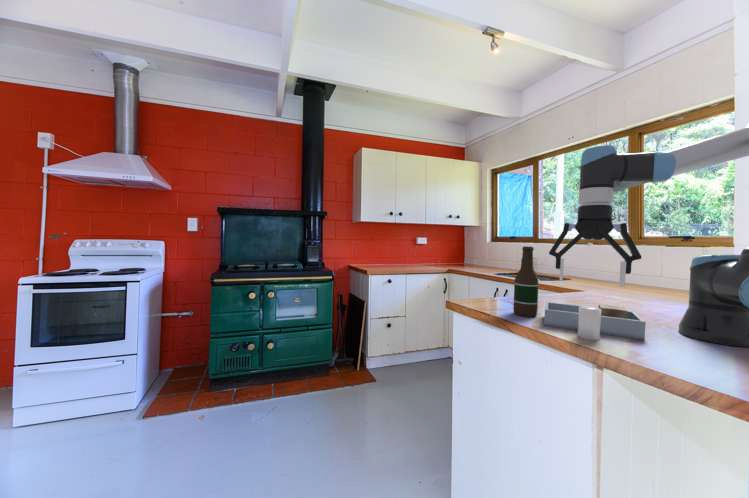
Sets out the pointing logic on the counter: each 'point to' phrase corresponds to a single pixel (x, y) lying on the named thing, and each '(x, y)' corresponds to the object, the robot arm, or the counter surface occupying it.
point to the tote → (612, 326)
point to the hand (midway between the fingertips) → (590, 283)
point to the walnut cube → (613, 311)
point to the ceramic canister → (589, 323)
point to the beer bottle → (526, 286)
